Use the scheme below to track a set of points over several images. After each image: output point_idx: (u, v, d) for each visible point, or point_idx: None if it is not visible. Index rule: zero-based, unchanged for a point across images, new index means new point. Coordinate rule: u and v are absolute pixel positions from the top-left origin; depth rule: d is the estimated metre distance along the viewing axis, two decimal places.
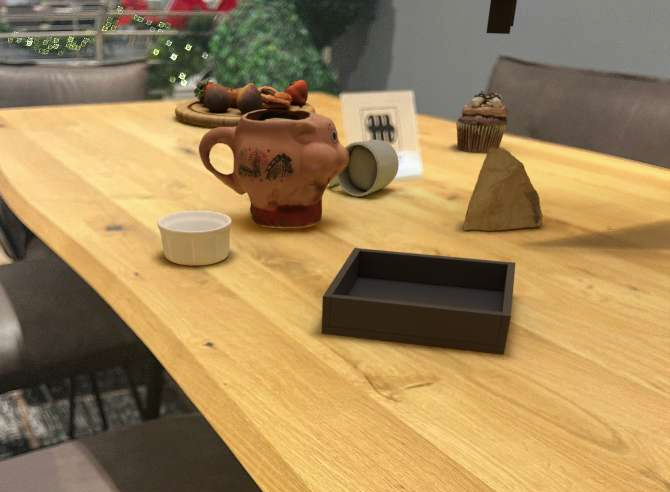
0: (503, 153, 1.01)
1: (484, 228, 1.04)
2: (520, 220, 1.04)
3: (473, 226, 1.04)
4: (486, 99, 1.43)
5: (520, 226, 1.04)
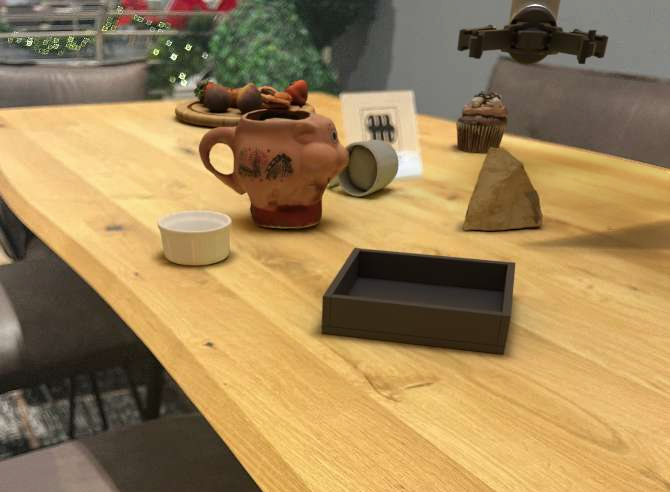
0: (503, 153, 1.01)
1: (484, 228, 1.04)
2: (520, 220, 1.04)
3: (473, 226, 1.04)
4: (486, 99, 1.43)
5: (520, 226, 1.04)
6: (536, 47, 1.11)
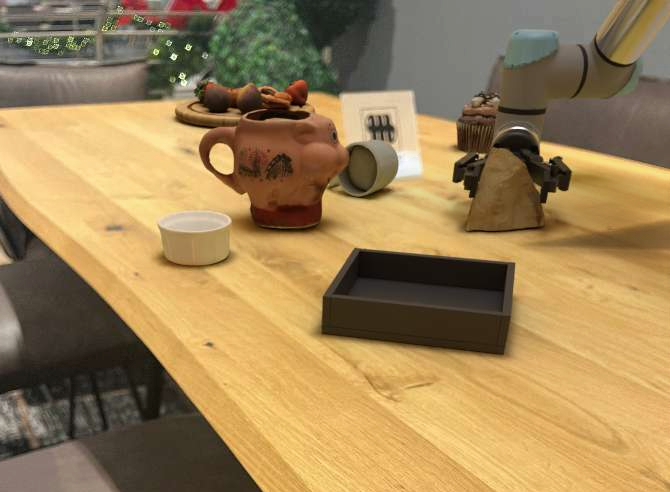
0: (505, 153, 1.01)
1: (487, 228, 1.03)
2: (522, 220, 1.04)
3: (476, 226, 1.04)
4: (486, 99, 1.43)
5: (522, 226, 1.04)
6: None
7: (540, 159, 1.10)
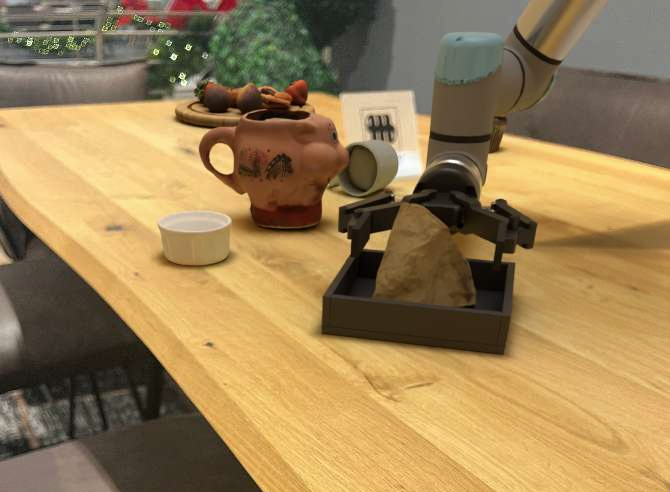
0: (420, 211, 0.74)
1: None
2: (445, 298, 0.77)
3: None
4: None
5: None
6: (446, 225, 0.82)
7: None
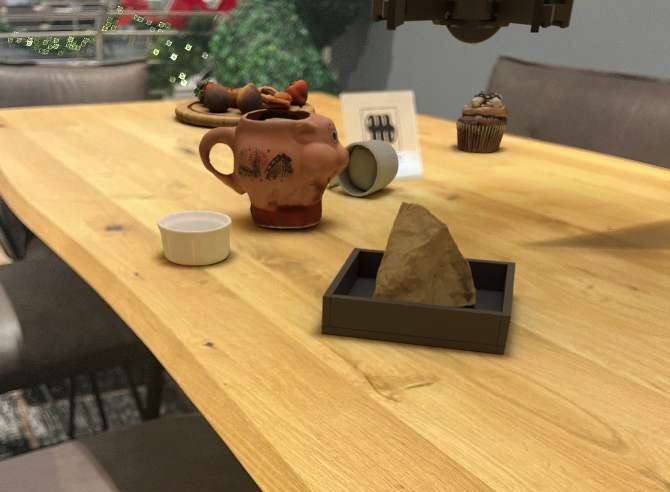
0: (420, 211, 0.74)
1: None
2: (445, 298, 0.77)
3: None
4: (486, 99, 1.43)
5: None
6: (479, 17, 0.82)
7: None
